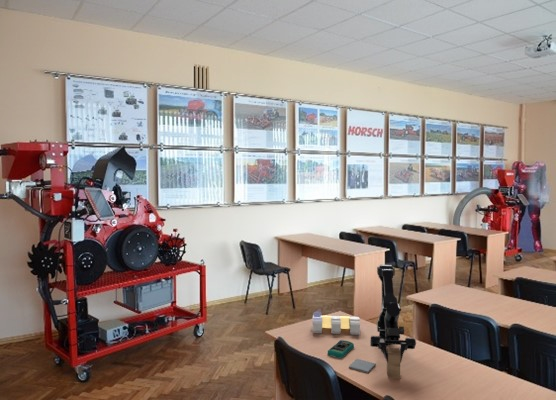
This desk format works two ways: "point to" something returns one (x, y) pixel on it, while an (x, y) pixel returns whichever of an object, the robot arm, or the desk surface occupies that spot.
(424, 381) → the desk surface
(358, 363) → the grey pad
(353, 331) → the grey yellow long block
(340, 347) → the digital multimeter
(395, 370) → the walnut block
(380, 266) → the robot arm
